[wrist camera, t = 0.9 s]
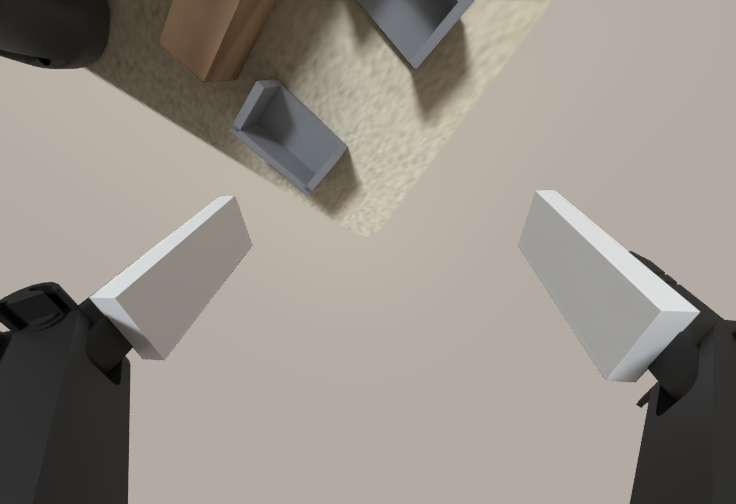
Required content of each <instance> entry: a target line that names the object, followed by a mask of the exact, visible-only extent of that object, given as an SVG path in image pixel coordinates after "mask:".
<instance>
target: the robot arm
mask: <svg viewBox="0 0 736 504" xmlns="http://www.w3.org/2000/svg"><path fill="white" fill-rule="evenodd" d="M108 32H109V12H108V4H107V0H0V56H2V57H5V58H8V59H12V60H15V61H19V62H22V63H25V64H29V65H32V66H36V67H41V68H49V69H75V68H82V67H85V66H88V65H90V64H91V63H93V62H94V61H95V60H96V59H97V58H98V57H99V56H100V55H101V53H102V52H103V50H104V48H105V45H106V42H107V38H108ZM251 246H252V243H251V240H250V237H249V234H248V232H247V229H246V226H245V223H244V221H243V217H242V215H241V212H240V209H239V206H238V203H237V200H236V198H235V196H219V197H217V198H216V199H215V200H214V201H212V202H211V203H210V204H208V205H207V206H206V207H205V208H203V209H202V210H201V211H199V212H198V213H197V214H196V215H194V216H193V217H192V218H191V219H189V220H188V221H187V222H185V223H184V224H183V225H181V226H180V227H179V228H178V229H176V230H175V231H174V232H173V233H171V234H170V235H169V236H167V237H166V238H165V239H164V240H162V241H161V242H160V243H158V244H157V245H156V246H155V247H153V248H152V249H151V250H150V251H148V252H147V253H146V254H145V255H143V256H142V257H140V258H139V259H137V260H136V261H135V262H134V263H132V264H131V265H130V266H128V267H127V268H126V269H125V270H123V271H122V272H121V273H119V274H118V275H117V276H116V277H115V278H113V279H112V280H110V281H109V282H108V283H106V284H105V285H104V286H103V287H101V288H100V289H99V290H97V291H96V292H95V293H94V294H92V295H91V296H90V297H89V298H87V299H86V300H85V301H83V302H82V303H81V304H80V305H77V304H76V303H75V302H74V300H72V298H71V297H70V296H69V295H68V294H67V293H66V292H65V291H64V290H63V289H62V288H61V287H60V285H59V284H56V283H54V282H48V283H40V284H36V285H32V286H29V287H26V288H23V289H21V290H18V291H16V292H14V293H12V294H10V295H8V296H6V297H4V298H3V299H1V300H0V322H1V323H2V324H3V325H5V326H6V327H7V328H8V329H10V330H11V331H7V332H1V331H0V504H128V466H129V465H128V463H129V413H130V411H129V410H130V362H129V360H128V359H127V358H126V356H125V355H126V354H127V353H128V352H129V351H130V350H131V349H132V348H134V350H135V351H136V352H137V353H138V354H139V355H140V356H141V358H142V359H153V360H165V359H166V358H167V356H168V355H169V353H170V352H171V351H172V350H173V348H174V347H175V346H176V344H177V343H178V342H179V341H180V339H181V338H182V337H183V335H184V334H185V333H186V331H187V330H188V329H189V328H190V326H191V325H192V324H193V322H194V321H195V320H196V318H197V317H198V316H199V314H200V313H201V312H202V311H203V309H204V308H205V307H206V305H207V304H208V303H209V302H210V300H211V299H212V298H213V296H214V295H215V293H216V292H217V291H218V290H219V288H220V287H221V286H222V285H223V283H224V282H225V281H226V279H227V278H228V277H229V275H230V274H231V273H232V272H233V270H234V269H235V267H236V266H237V265H238V264H239V262H240V261H241V260H242V259H243V257H244V256H245V255H246V253H247V252H248V251H249V249H250V248H251ZM518 247H519V248H520V250H521V252H522V253H523V255H524V256H525V257H526V259H527V261H528V262H529V264H530V265H531V267H532V268H533V270H534V272H535V273H536V275H537V276H538V278H539V279H540V281H541V282H542V284H543V286H544V287H545V289H546V290H547V292H548V293H549V295H550V296H551V298H552V299H553V301H554V302H555V304H556V305H557V307H558V309H559V310H560V312H561V313H562V315H563V316H564V318H565V320H566V321H567V322H568V324H569V325H570V327H571V329H572V330H573V332H574V333H575V335H576V336H577V338H578V340H579V341H580V343H581V344H582V346H583V347H584V349H585V350H586V352H587V353H588V355H589V356H590V358H591V360H592V361H593V363H594V364H595V366H596V367H597V369H598V370H599V372H600V373H601V375H602V377H603V378H604V380H605V381H620V382H636V381H637V380H638V379H639V378H640V377H641V376H642V375H643V374H644V373H645V371H646V370H647V369H649V370H650V372H651V373H652V374H653V375H654V376H655V378H656V379H657V380H658V382H657V383H656V384H655V385H654V386H653V387H652V388H651V389H650V390H649V391H648V392H647V393H646V394H645V395H644V396H643V397H642V398H641V399H640V400H639V401H638V403H637V404H636V405H638V406H639V407H643V405H644V404H646V403H648V409H647V414H646V420H645V425H644V430H643V436H642V441H641V446H640V452H639V457H638V463H637V468H636V473H635V479H634V484H633V489H632V495H631V500H630V504H736V321H731V320H724V319H723V318H721V317H720V316H719V315H718V314H716V313H715V312H714V311H713V310H711V309H710V308H709V307H708V306H706V305H705V304H704V303H703V302H701V301H700V300H699V299H697V298H696V297H695V296H693V295H692V294H691V293H690V292H689V291H687V290H686V289H685V288H684V287H682V286H681V285H677V282H676V281H675V280H674V279H672V278H671V277H670V276H669V275H665V272H664V271H662V270H661V269H659V267H657V266H656V265H655V264H654V263H652V262H651V261H649V260H647V259H646V258H644V257H642V256H640V255H638V254H636V253H634V252H632V251H627V250H626V249H625V248H623V247H622V246H621V245H620V244H619V243H617V242H616V241H615V240H614V239H613V238H611V237H610V236H609V235H608V234H607V233H605V232H604V231H603V230H602V229H600V228H599V227H598V226H597V225H596V224H595V223H593V222H592V221H591V220H590V219H589V218H587V217H586V216H585V215H584V214H582V213H581V212H580V211H579V210H578V209H577V208H575V207H574V206H573V205H572V204H571V203H569V202H568V201H567V200H566V199H565V198H563V197H562V196H561V195H560V194H559V193H557V192H556V191H554V190H552V191H535V193H534V196H533V200H532V203H531V206H530V209H529V212H528V216H527V219H526V222H525V225H524V228H523V232H522V235H521V238H520V241H519V244H518Z"/></svg>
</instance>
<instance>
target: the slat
mask: <svg viewBox="0 0 736 504" xmlns="http://www.w3.org/2000/svg"><path fill="white" fill-rule="evenodd" d="M276 1H277V0H173V1H172V4H171V7H170V10H169V13H168V16H167V19H166V22H165V25H164V28H163V31H162V34H161V37H160V40H159V43H158V44H159V45H161V46H162V47H163V48H164V49H165V50H166V51H168V52H169V53H170V54H171V55H172V56H173V57H175V58H176V59H177V60H178V61H179V62H180V63H182V64H183V65H184V66H185V67H186V68H187V69H189V70H190V71H191V72H192V73H193V74H194V75H196V76H197V77H198V78H199V79H200V80H201V81H203V82H212V81H223V80H235V79H237V78H238V76H239V74H240V72H241V70H242V68H243V66H244V64H245V62H246V60H247V58H248V56H249V54H250V52H251V50H252V48H253V46H254V44H255V42H256V40H257V38H258V36H259V34H260V33H261V31H262V29H263V27H264V25H265V23H266V21H267V19H268V17H269V15H270V13H271V11H272V9H273V7H274V5H275V3H276Z"/></svg>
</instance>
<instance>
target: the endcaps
mask: <svg viewBox="0 0 736 504" xmlns="http://www.w3.org/2000/svg"><path fill="white" fill-rule="evenodd" d="M357 1H358V2H359V3H360V5H361V6H362V7H363V8H364V9H365V10H366V12H367V13H368V14H369V15H370V16H371V18H372V19H373V20H374V21H375V22H376V24H377V25H378V26H379V27H380V28H381V30H382V31H383V32H384V33H385V34H386V36H387V37H388V38H389V39H390V40H391V42H392V43H393V44H394V45H395V46H396V48H397V49H398V50H399V51H400V52H401V54H402V55H403V56H404V57H405V58H406V60H407V61H408V62H409V63H410V64H411V66H412V67H413V68H414V69H417V68H418V66H419V65H420V64H421V63H422V62H423V61H424V59H425V58H426V57H427V56H428V55H429V54H430V52H431V51H432V50H433V49H434V48H435V46H436V45H437V44H438V43H439V42H440V41H441V39H442V38H443V37H444V36H445V35H446V34H447V32H448V31H449V30H450V29H451V28H452V27H453V25H454V24H455V23H456V22H457V21H458V20H459V18H460V17H461V16H462V15H463V14H464V13H465V11H466V10H467V9H468V8H469V7H470V6H471V4H472V3H473V2H474V0H357ZM229 131H230V132H231V133H233V134H234V135H235V136H236V137H237V138H239V139H240V140H241V141H242V142H243V143H245V144H246V145H247V146H248V147H249V148H251V149H252V150H253V151H254V152H255V153H257V154H258V155H259V156H260V157H261V158H263V159H264V160H265V161H266V162H268V163H269V164H270V165H271V166H272V167H274V168H275V169H276V170H277V171H278V172H280V173H281V174H282V175H283V176H284V177H286V178H287V179H288V180H289V181H290V182H292V183H293V184H294V185H295V186H296V187H298V188H299V189H300V190H301V191H302V192H304V193H305V194H306V195H307V196H308V195H309V194H310V193H311V192H312V190H313V189H314V188H315V187H316V186H317V185H318V183H319V182H320V181H321V180H322V179H323V178H324V176H325V175H326V174H327V173H328V172H329V171H330V169H331V168H332V167H333V166H334V165H335V164H336V162H337V161H338V160H339V159H340V158H341V156H342V154H343V153H344V151H345V150H346V148H347V147H348V146H347V145H346V144H345V143H344V142H343V141H342V140H340V139H339V138H338V137H337V136H336V135H335V134H334V133H333V132H332V131H331V130H330V129H329V128H328V127H327V126H326V125H325V124H324V123H323V122H322V121H321V120H320V119H319V118H317V117H316V116H315V115H314V114H313V113H312V112H311V111H310V110H309V109H308V108H307V107H306V106H305V105H304V104H303V103H302V102H301V101H300V100H299V99H298V98H297V97H296V96H294V95H293V94H292V93H291V92H290V91H289V90H288V89H287V88H286V87H285V86H284V85H283V84H282V83H281V82H280V81H279V80H278V79H270V80H261V81H256V83H255V85H254V86H253V88H252V90H251V92H250V94H249V95H248V97H247V99H246V101H245V103H244V104H243V106H242V108H241V110H240V111H239V113H238V115H237V117H236V119H235V120H234V122H233V124H232V126H231V128H230V129H229Z"/></svg>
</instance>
